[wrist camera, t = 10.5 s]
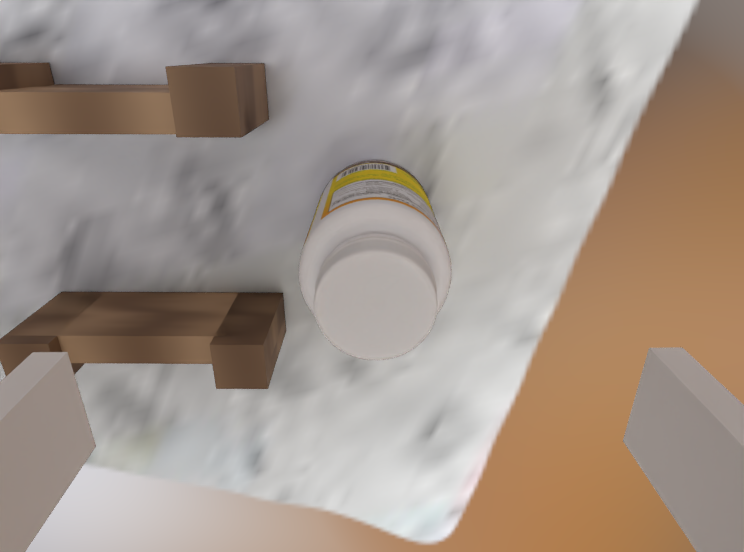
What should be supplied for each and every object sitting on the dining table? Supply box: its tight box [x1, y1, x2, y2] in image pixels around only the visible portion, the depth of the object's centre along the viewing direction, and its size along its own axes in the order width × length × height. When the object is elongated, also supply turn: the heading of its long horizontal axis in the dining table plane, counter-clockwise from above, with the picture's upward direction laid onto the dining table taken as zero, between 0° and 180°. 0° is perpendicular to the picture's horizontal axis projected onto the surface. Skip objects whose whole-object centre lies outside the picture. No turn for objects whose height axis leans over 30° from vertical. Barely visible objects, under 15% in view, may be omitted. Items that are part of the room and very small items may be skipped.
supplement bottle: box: [299, 160, 452, 360], centre depth 20 cm, size 6×6×10 cm
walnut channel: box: [0, 63, 286, 389], centre depth 22 cm, size 12×14×5 cm
